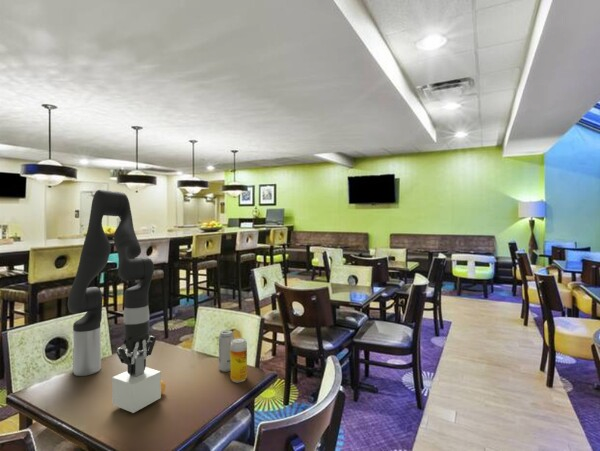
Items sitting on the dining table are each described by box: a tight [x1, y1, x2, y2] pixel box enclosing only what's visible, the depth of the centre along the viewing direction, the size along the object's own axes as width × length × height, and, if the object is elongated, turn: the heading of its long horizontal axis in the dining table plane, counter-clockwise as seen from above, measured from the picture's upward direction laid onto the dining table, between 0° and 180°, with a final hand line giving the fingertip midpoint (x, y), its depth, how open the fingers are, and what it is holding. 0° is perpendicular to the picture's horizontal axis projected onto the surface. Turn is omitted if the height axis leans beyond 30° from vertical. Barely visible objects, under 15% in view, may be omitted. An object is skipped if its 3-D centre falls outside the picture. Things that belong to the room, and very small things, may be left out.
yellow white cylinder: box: [230, 337, 248, 383], centre depth 130 cm, size 6×6×15 cm
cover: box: [111, 353, 162, 414], centre depth 112 cm, size 10×10×15 cm
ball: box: [161, 379, 167, 395], centre depth 119 cm, size 5×5×5 cm
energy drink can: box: [218, 329, 235, 373], centre depth 139 cm, size 6×6×15 cm
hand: (136, 372), depth 112 cm, fingers closed on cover, 3 cm apart
